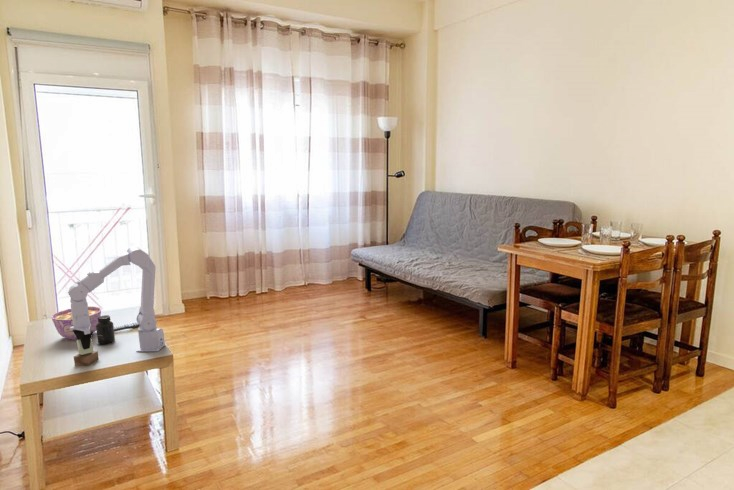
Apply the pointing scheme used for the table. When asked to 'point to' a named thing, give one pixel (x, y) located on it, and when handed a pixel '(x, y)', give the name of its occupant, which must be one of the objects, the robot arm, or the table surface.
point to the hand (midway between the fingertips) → (84, 347)
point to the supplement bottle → (105, 330)
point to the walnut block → (86, 359)
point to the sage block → (82, 351)
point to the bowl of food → (65, 321)
